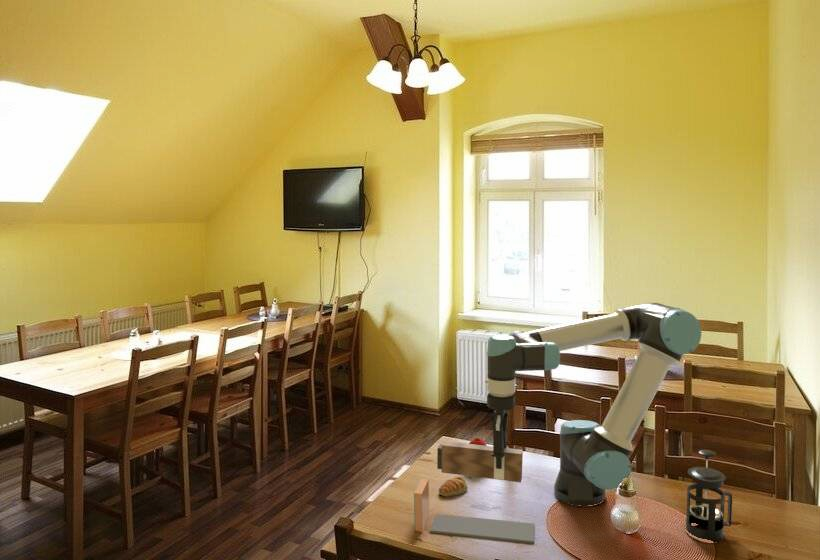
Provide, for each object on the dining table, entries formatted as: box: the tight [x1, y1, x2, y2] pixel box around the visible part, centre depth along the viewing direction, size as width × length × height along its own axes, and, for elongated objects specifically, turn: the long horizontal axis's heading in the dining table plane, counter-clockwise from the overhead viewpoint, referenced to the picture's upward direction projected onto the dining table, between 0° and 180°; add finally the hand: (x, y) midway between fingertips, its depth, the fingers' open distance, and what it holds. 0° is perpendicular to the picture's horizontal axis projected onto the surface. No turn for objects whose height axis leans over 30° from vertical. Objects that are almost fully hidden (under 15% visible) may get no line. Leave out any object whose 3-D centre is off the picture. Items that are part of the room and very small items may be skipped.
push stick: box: [436, 440, 524, 483], centre depth 162 cm, size 23×3×8 cm, turn 74°
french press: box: [685, 449, 733, 543], centre depth 155 cm, size 12×9×23 cm
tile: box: [413, 478, 430, 533], centre depth 165 cm, size 2×9×11 cm, turn 166°
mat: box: [429, 513, 536, 544], centre depth 161 cm, size 28×9×1 cm, turn 76°
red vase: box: [468, 437, 488, 446], centre depth 200 cm, size 8×8×11 cm
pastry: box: [438, 476, 469, 498], centre depth 183 cm, size 9×7×4 cm
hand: (499, 475), depth 160 cm, fingers closed on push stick, 3 cm apart
